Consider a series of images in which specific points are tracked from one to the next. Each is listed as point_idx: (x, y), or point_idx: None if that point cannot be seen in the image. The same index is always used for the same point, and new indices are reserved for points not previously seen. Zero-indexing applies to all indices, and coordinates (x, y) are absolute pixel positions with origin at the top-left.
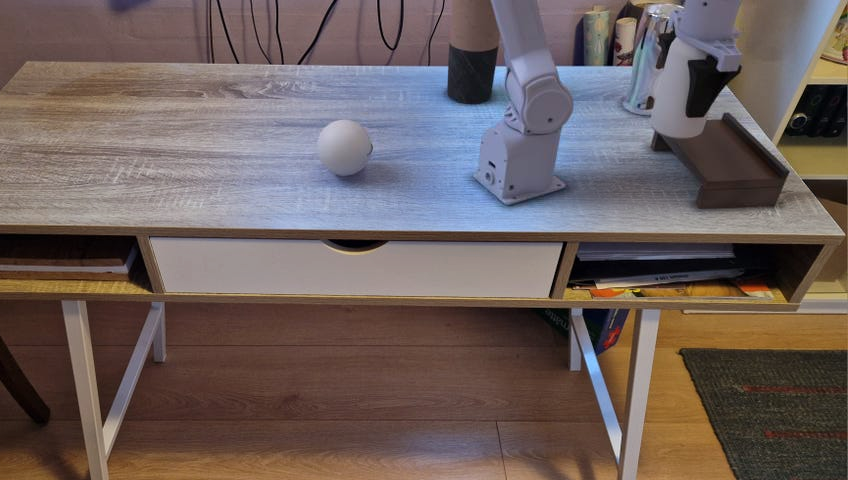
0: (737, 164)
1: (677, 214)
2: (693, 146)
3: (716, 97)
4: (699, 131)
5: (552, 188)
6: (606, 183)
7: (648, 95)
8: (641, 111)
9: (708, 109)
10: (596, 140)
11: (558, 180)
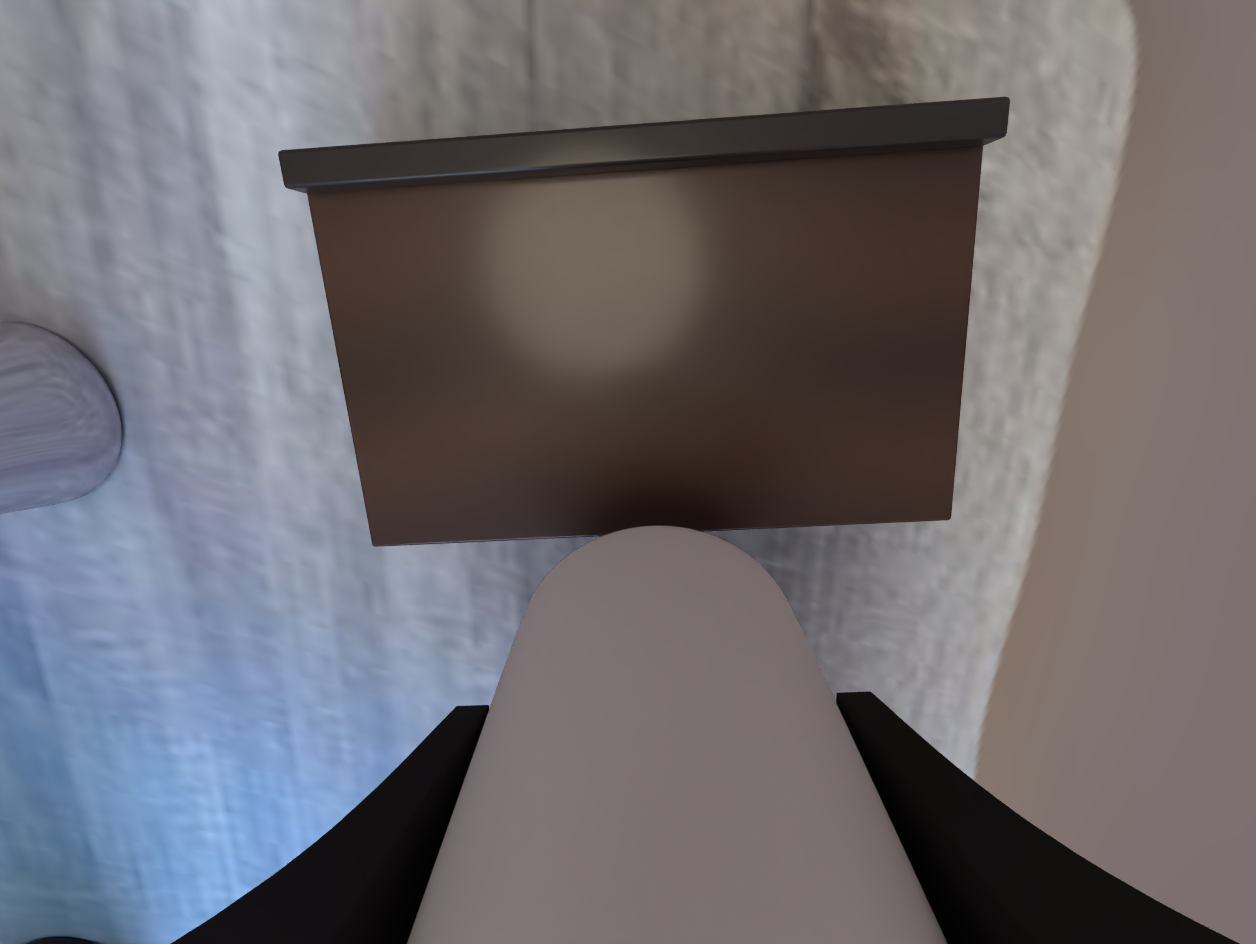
0: (818, 320)
1: (918, 562)
2: (630, 468)
3: (976, 783)
4: (782, 593)
5: None
6: None
7: (26, 459)
8: (109, 454)
9: (902, 720)
10: (383, 680)
11: None
